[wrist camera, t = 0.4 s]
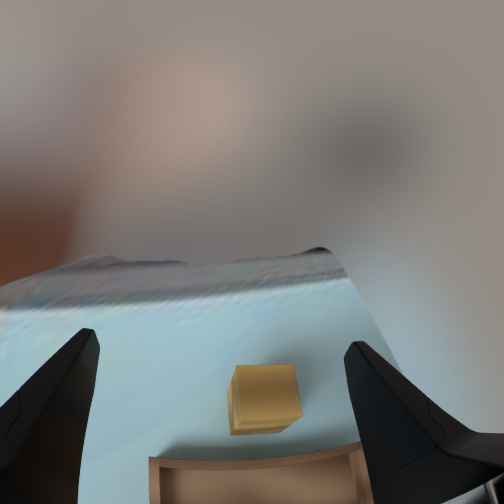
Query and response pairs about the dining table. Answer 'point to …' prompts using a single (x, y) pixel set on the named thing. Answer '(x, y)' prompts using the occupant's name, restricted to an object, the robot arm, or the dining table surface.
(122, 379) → the dining table surface
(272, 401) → the ochre block
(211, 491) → the walnut tray
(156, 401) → the dining table surface
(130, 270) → the dining table surface
